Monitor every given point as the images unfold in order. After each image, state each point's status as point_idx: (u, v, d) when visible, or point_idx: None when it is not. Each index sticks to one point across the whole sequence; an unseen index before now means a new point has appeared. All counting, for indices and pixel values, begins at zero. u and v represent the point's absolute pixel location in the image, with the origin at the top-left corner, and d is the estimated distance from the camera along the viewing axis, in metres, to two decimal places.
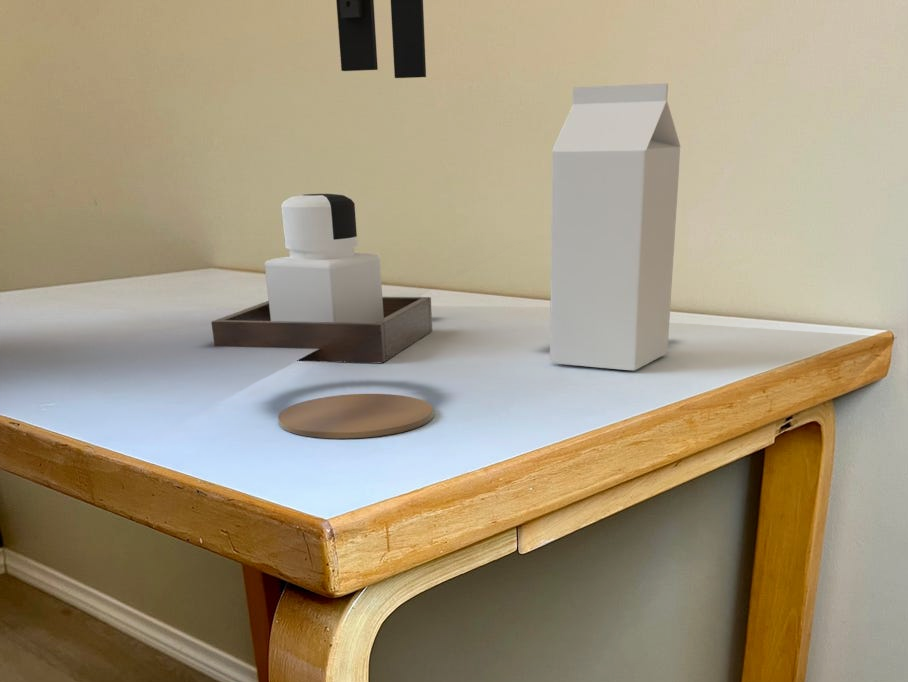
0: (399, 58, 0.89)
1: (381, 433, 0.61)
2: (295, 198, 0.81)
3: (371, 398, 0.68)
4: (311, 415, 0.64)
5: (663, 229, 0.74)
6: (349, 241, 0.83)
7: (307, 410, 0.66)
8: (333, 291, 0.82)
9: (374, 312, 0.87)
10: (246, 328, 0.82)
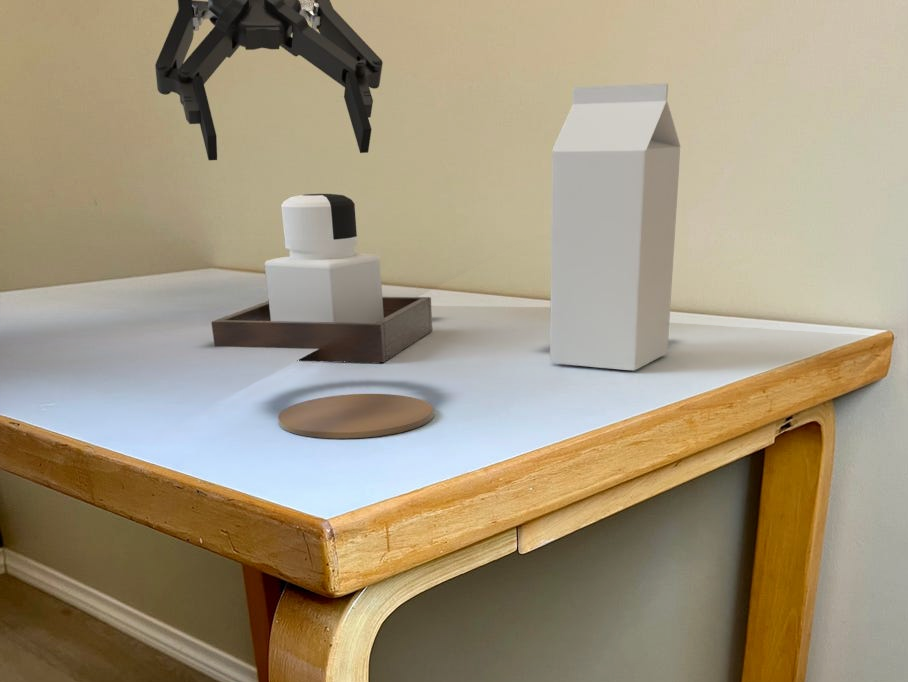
0: None
1: (381, 433, 0.61)
2: (295, 198, 0.81)
3: (371, 398, 0.68)
4: (311, 415, 0.64)
5: (663, 229, 0.74)
6: (349, 241, 0.83)
7: (307, 410, 0.66)
8: (333, 291, 0.82)
9: (374, 312, 0.87)
10: (246, 328, 0.82)
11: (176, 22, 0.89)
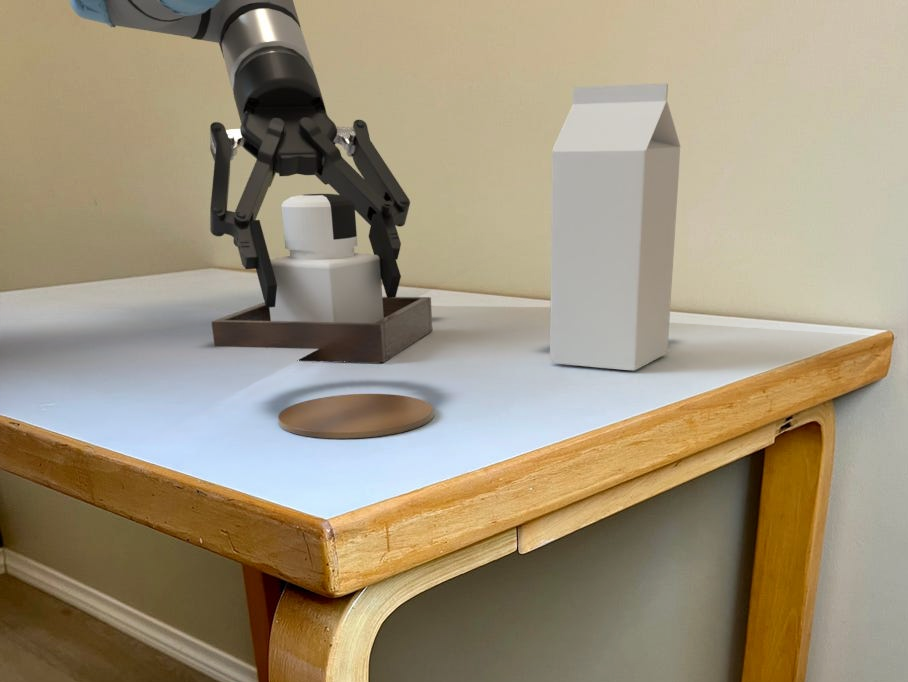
0: None
1: (381, 433, 0.61)
2: (295, 198, 0.81)
3: (371, 398, 0.68)
4: (311, 415, 0.64)
5: (663, 229, 0.74)
6: (349, 241, 0.83)
7: (307, 410, 0.66)
8: (333, 291, 0.82)
9: (374, 312, 0.87)
10: (246, 328, 0.82)
11: (217, 159, 0.84)
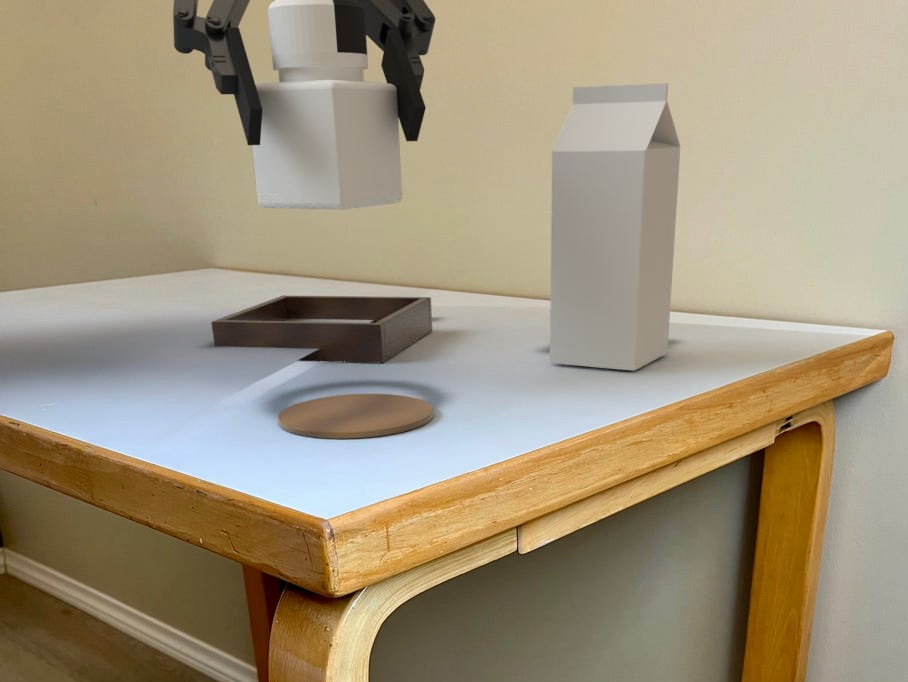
0: None
1: (381, 433, 0.61)
2: None
3: (371, 398, 0.68)
4: (311, 415, 0.64)
5: (663, 229, 0.74)
6: (358, 58, 0.63)
7: (307, 410, 0.66)
8: (337, 120, 0.62)
9: (389, 161, 0.67)
10: (246, 328, 0.82)
11: None
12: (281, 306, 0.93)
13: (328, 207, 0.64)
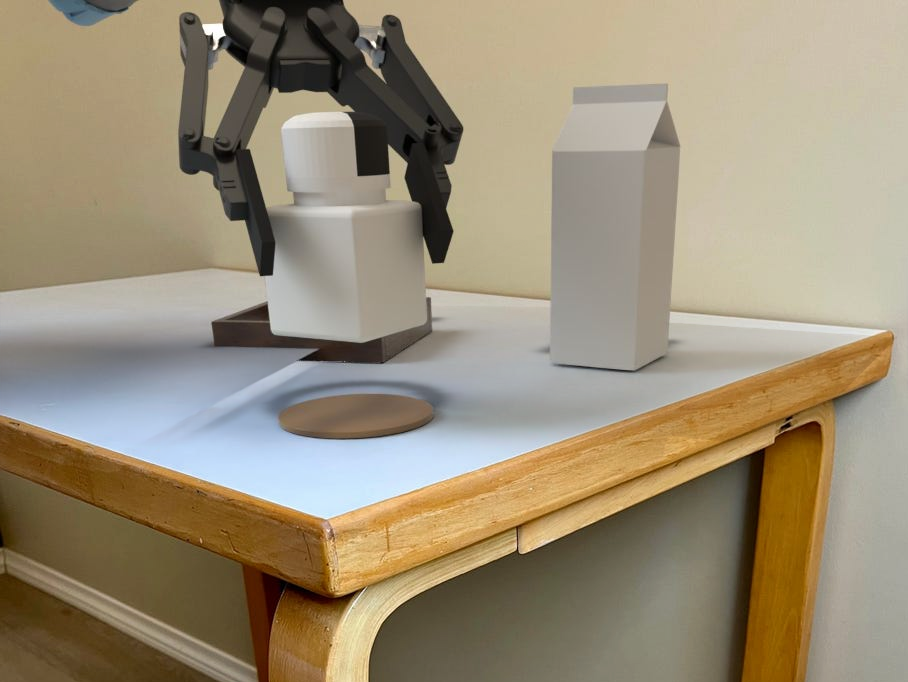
0: None
1: (381, 433, 0.61)
2: (301, 116, 0.56)
3: (371, 398, 0.68)
4: (311, 415, 0.64)
5: (663, 229, 0.74)
6: (380, 179, 0.57)
7: (307, 410, 0.66)
8: (357, 251, 0.56)
9: (413, 284, 0.61)
10: (246, 328, 0.82)
11: (189, 62, 0.58)
12: None
13: (347, 340, 0.59)
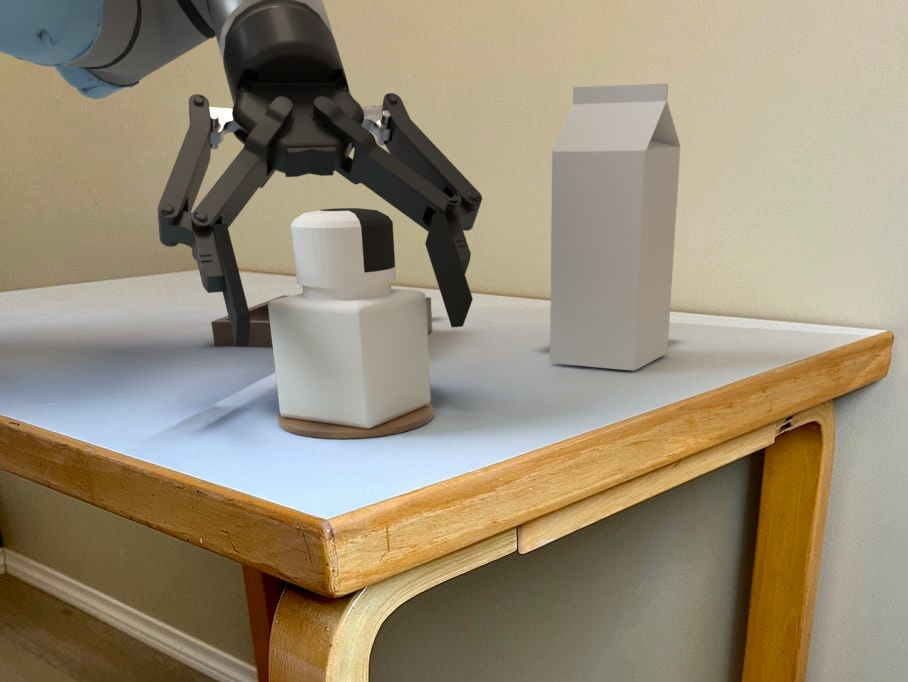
0: None
1: (381, 433, 0.61)
2: (311, 215, 0.58)
3: None
4: None
5: (663, 229, 0.74)
6: (386, 274, 0.60)
7: None
8: (364, 344, 0.58)
9: (417, 369, 0.64)
10: None
11: (187, 142, 0.60)
12: None
13: (354, 426, 0.61)
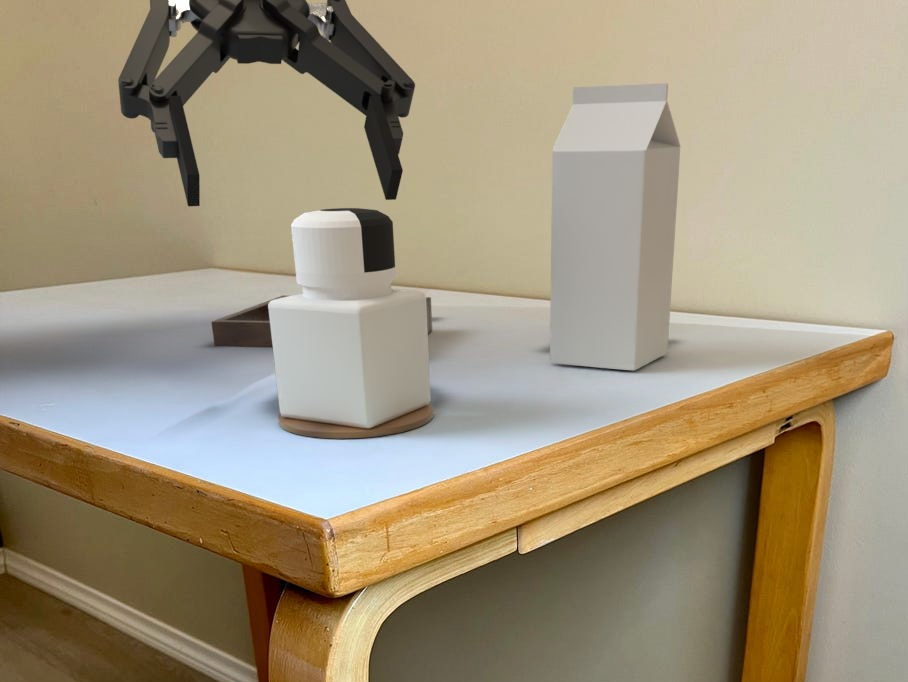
0: None
1: (381, 433, 0.61)
2: (311, 215, 0.58)
3: None
4: None
5: (663, 229, 0.74)
6: (386, 274, 0.60)
7: None
8: (364, 344, 0.58)
9: (417, 369, 0.64)
10: (246, 328, 0.82)
11: (147, 25, 0.67)
12: None
13: (354, 426, 0.61)
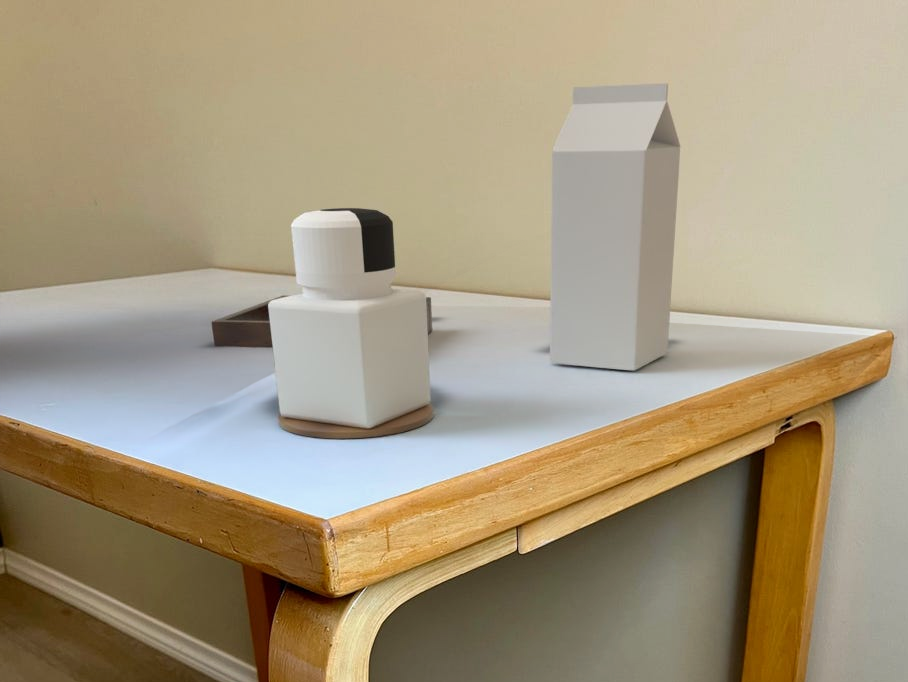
0: None
1: (381, 433, 0.61)
2: (311, 215, 0.58)
3: None
4: None
5: (663, 229, 0.74)
6: (386, 274, 0.60)
7: None
8: (364, 344, 0.58)
9: (417, 369, 0.64)
10: (246, 328, 0.82)
11: None
12: None
13: (354, 426, 0.61)
